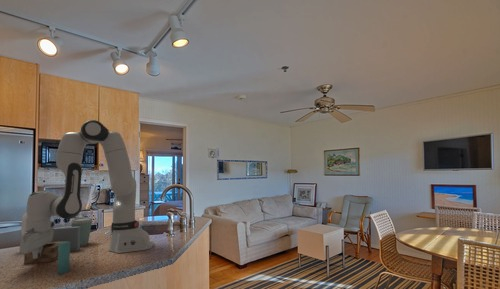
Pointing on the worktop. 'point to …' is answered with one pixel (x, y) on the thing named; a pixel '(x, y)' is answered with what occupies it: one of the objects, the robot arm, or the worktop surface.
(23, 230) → the water bottle
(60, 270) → the dowel
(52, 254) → the socket block
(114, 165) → the robot arm
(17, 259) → the worktop surface
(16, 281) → the worktop surface
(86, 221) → the disposable coffee cup
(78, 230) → the wall
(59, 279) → the worktop surface
